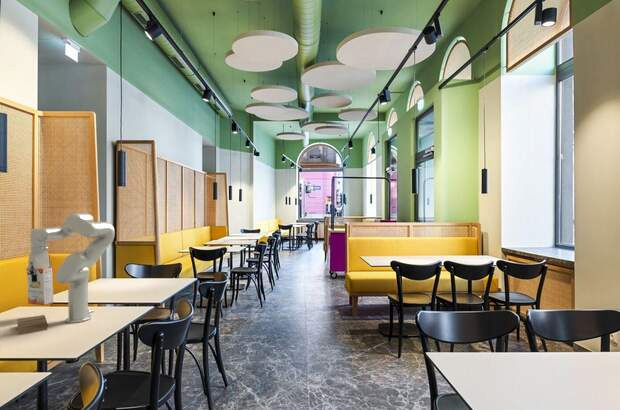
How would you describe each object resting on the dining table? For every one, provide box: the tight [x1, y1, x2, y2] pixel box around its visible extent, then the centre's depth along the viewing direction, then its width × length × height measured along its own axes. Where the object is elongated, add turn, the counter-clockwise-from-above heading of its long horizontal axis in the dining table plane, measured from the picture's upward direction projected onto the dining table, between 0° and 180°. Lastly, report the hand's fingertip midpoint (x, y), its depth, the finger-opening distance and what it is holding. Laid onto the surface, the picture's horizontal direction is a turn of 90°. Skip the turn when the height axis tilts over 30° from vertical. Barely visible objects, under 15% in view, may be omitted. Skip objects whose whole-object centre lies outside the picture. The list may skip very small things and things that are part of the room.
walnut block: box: [17, 314, 48, 335], centre depth 206 cm, size 18×12×4 cm, turn 38°
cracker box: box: [26, 267, 54, 306], centre depth 226 cm, size 14×6×21 cm, turn 68°
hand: (39, 280), depth 226 cm, fingers closed on cracker box, 6 cm apart
